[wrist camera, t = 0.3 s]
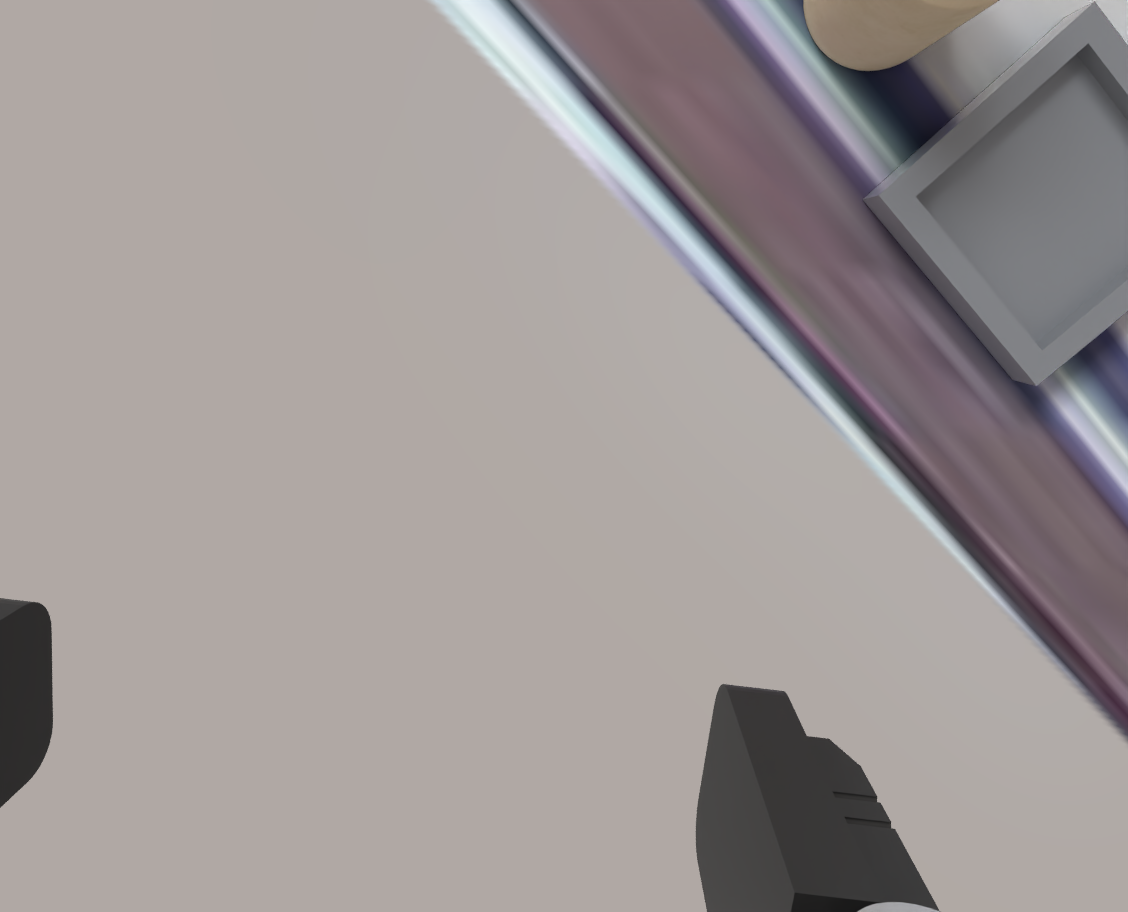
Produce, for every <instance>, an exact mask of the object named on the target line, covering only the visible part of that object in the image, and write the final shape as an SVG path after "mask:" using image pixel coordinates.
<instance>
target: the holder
mask: <svg viewBox="0 0 1128 912" xmlns="http://www.w3.org/2000/svg"><path fill="white" fill-rule="evenodd" d="M863 201H864V202H865V203H866V204H867V205H868V207H869V208H870V209H871V210H872V211H873V213H874V214H875V215H876V216H877V217H878V219H879V220H880V221H881V222H882V223H883V225H884V226H885V227H886V228H887V229H888V231H889V232H890V233H891V234H892V235H893V237H894V238H895V239H896V240H897V241H898V243H899V244H900V245H901V246H902V248H903V249H904V250H905V251H906V252H907V254H908V255H909V256H910V257H911V258H912V260H913V261H914V262H915V263H916V264H917V266H918V267H919V268H920V269H921V270H922V272H923V273H924V274H925V275H926V276H927V278H928V279H929V280H930V281H931V282H932V284H933V285H934V286H935V287H936V288H937V290H938V291H939V292H940V293H941V294H942V296H943V297H944V298H945V299H946V300H947V302H948V303H949V304H950V305H951V306H952V308H953V309H954V310H955V311H956V312H957V314H958V315H959V316H960V317H961V318H962V320H963V321H964V322H965V323H966V324H967V326H968V327H969V328H970V329H971V330H972V332H973V333H974V334H975V335H976V336H977V338H978V339H979V340H980V341H981V342H982V344H983V345H984V346H985V347H986V348H987V350H988V351H989V352H990V353H991V354H992V356H993V357H994V358H995V359H996V360H997V362H998V363H999V364H1000V365H1001V366H1002V368H1003V369H1004V370H1005V371H1006V372H1007V374H1008V375H1009V376H1010V377H1011V378H1012V380H1014V381H1018V382H1022V383H1026V384H1030V385H1034V386H1038V385H1039V384H1040V383H1041V382H1042V381H1044V380H1045V379H1046V378H1047V377H1049V376H1050V375H1051V374H1052V373H1053V372H1055V371H1056V370H1057V369H1058V368H1059V367H1061V366H1062V365H1063V364H1064V363H1066V362H1067V361H1068V360H1069V359H1070V358H1072V357H1073V356H1074V355H1075V354H1076V353H1078V352H1079V351H1080V350H1081V349H1082V348H1084V347H1085V346H1086V345H1087V344H1089V343H1090V342H1091V341H1092V340H1093V339H1095V338H1096V337H1097V336H1098V335H1099V334H1101V333H1102V332H1103V331H1104V330H1106V329H1107V328H1108V327H1109V326H1110V325H1112V324H1113V323H1114V322H1115V321H1116V320H1118V319H1119V318H1120V317H1121V316H1122V315H1124V314H1125V313H1126V312H1127V311H1128V45H1127V44H1126V43H1125V41H1124V40H1123V39H1122V37H1121V36H1120V35H1119V33H1118V32H1117V31H1116V29H1115V28H1114V27H1113V25H1112V24H1111V23H1110V21H1109V20H1108V19H1107V17H1106V16H1105V15H1104V13H1103V12H1102V11H1101V9H1100V8H1099V7H1098V5H1097V4H1096V3H1095V2H1093V3H1091V4H1089V5H1087V6H1085V7H1083V8H1082V9H1080V10H1078V11H1076V12H1074V13H1072V14H1070V15H1068V16H1066V17H1065V18H1064V19H1063V20H1061V21H1060V22H1059V23H1058V24H1057V25H1056V26H1055V27H1054V28H1053V29H1051V30H1050V31H1049V32H1048V33H1047V34H1046V35H1045V36H1044V37H1043V38H1041V39H1040V40H1039V41H1038V42H1037V43H1036V44H1035V45H1034V46H1033V47H1031V48H1030V49H1029V50H1028V51H1027V52H1026V53H1025V54H1024V55H1023V56H1021V57H1020V58H1019V59H1018V60H1017V61H1016V62H1015V63H1014V64H1013V65H1011V66H1010V67H1009V68H1008V69H1007V70H1006V71H1005V72H1004V73H1003V74H1001V75H1000V76H999V77H998V78H997V79H996V80H995V81H994V82H993V83H991V84H990V85H989V86H988V87H987V88H986V89H985V90H984V91H983V92H981V93H980V94H979V95H978V96H977V97H976V98H975V99H974V100H973V101H971V102H970V103H969V104H968V105H967V106H966V107H965V108H964V109H963V110H961V111H960V112H959V113H958V114H957V115H956V116H955V117H954V118H953V119H951V120H950V121H949V122H948V123H947V124H946V125H945V126H944V127H943V128H941V129H940V130H939V131H938V132H937V133H936V134H935V135H934V136H933V137H931V138H930V139H929V140H928V141H927V142H926V143H925V144H924V145H922V146H921V147H920V148H919V149H918V150H917V151H916V152H915V153H914V154H912V155H911V156H910V157H909V158H908V159H907V160H906V161H905V162H904V163H902V164H901V165H900V166H899V167H898V168H897V169H896V170H895V171H894V172H892V173H891V174H890V175H889V176H888V177H887V178H886V179H885V180H884V181H882V182H881V183H880V184H879V185H878V186H877V187H876V188H875V189H874V190H872V191H871V192H870V193H869V194H868V195H867V196H866V197H865V198H864V199H863Z"/></svg>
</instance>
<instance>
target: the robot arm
mask: <svg viewBox="0 0 1128 912" xmlns="http://www.w3.org/2000/svg"><path fill="white" fill-rule="evenodd" d="M51 636H52V633H51V620H50V616H49V614H48V611H47V609H46V608H45V607H44V606H43V605H42V604H40V603H36V602H28V601H20V600H11V599H3V598H0V807H1V806H2V805H4V804H5V802H7V801H8V800H9V799H10V798H11V797H12V796H13V795H14V794H15V793H16V792H17V791H18V790H20V789H21V788H22V787H23V786H24V785H25V784H26V783H27V782H28V781H29V780H30V779H31V778H32V777H33V775H34V774H35V773H36V771H37V770H38V768H39V767H40V765H41V763H42V761H43V759H44V757H45V754H46V752H47V749H48V746H49V743H50V739H51V735H52V728H53V707H52V706H53V704H52V703H53V702H52V637H51ZM696 851H697V860H698V865H699V871H700V876H701V880H702V887H703V892H704V897H705V902H706V908H707V912H940V911H939V909H938V907H937V906H936V904H935V902H934V900H933V898H932V896H931V894H930V893H929V891H928V889H927V887H926V885H925V884H924V882H923V880H922V878H921V876H920V874H919V872H918V871H917V869H916V867H915V865H914V863H913V862H912V860H911V858H910V856H909V854H908V852H907V851H906V849H905V847H904V845H903V843H902V841H901V839H900V838H899V836H898V834H897V832H896V830H895V829H891V821H890V819H889V817H888V816H887V814H886V812H885V810H884V808H883V806H882V805H881V803H878V802H877V796H876V794H875V792H874V790H873V788H872V786H871V784H870V783H869V781H868V779H867V777H866V775H865V773H864V772H863V770H862V768H861V766H860V765H858V764H857V763H856V762H855V761H854V760H853V759H851V758H850V757H849V756H848V755H847V754H846V753H845V752H843V751H842V750H841V749H840V748H839V747H838V746H837V745H835V744H834V743H833V742H832V741H831V740H830V739H825V738H817V737H808V736H806V734H805V731H804V729H803V727H802V725H801V723H800V721H799V719H798V717H797V714H796V712H795V710H794V708H793V706H792V704H791V702H790V700H789V697H788V696H787V694H786V693H785V692H784V691H777V690H769V689H760V688H752V687H743V686H734V685H726V684H722V685H721V686H720V687H719V690H718V692H717V695H716V699H715V705H714V710H713V716H712V722H711V728H710V733H709V740H708V746H707V751H706V758H705V763H704V770H703V775H702V781H701V787H700V793H699V799H698V807H697V818H696Z"/></svg>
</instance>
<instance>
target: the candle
mask: <svg viewBox="0 0 1128 912" xmlns="http://www.w3.org/2000/svg"><path fill="white" fill-rule="evenodd" d="M997 1H999V0H803V8H804V15H805V20H806V24H807V27H808V29H809V32H810V34H811V36H812V38H813V40H814V41H815V43H816V44H817V46H818V47H819V48H820V50H821V51H822V52H823V53H824V54H825V55H827V56H828V57H829V58H830V59H832V60H833V61H834V62H836V63H838V64H840V65H842V66H845V67H847V68H850V69H855V70H860V71H875V70H882V69H887V68H890V67H893V66H896V65H899V64H901V63H902V62H904V61H906V60H908V59H910V58H912V57H913V56H915V55H916V54H918V53H920V52H921V51H923V50H924V49H926V48H927V47H929V46H930V45H932V44H933V43H935V42H936V41H938V40H939V39H941V38H942V37H944V36H945V35H947V34H949V33H950V32H952V31H953V30H955V29H956V28H958V27H959V26H961V25H962V24H964V23H965V22H967V21H968V20H970V19H971V18H973V17H975V16H976V15H978V14H979V13H981V12H982V11H984V10H985V9H987V8H988V7H990V6H991V5H993V4H994V3H996V2H997Z"/></svg>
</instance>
